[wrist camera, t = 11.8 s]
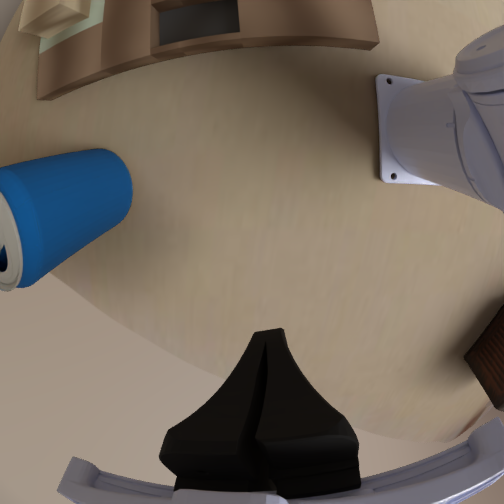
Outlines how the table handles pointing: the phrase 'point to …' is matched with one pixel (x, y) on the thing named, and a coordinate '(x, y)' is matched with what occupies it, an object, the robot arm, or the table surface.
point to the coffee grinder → (490, 360)
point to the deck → (191, 34)
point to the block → (52, 16)
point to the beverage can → (57, 210)
